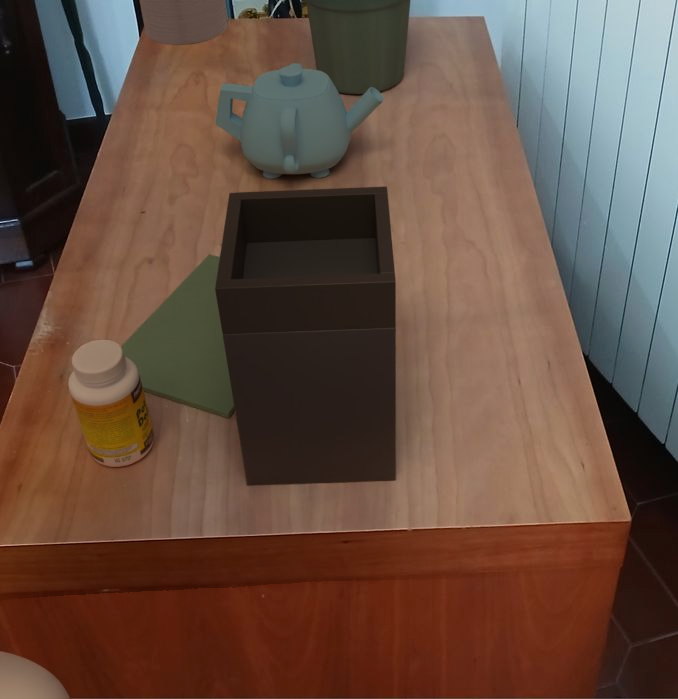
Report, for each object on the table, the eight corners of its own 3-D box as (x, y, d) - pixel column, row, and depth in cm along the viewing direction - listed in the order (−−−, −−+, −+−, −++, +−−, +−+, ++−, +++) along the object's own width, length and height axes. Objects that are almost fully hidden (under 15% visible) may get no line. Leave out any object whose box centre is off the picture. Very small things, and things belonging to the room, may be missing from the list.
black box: (395, 480, 74) (395, 281, 61) (247, 485, 74) (214, 288, 61) (388, 378, 83) (387, 186, 70) (255, 383, 83) (229, 192, 70)
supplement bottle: (158, 463, 76) (134, 372, 70) (90, 476, 76) (60, 385, 69) (153, 416, 81) (131, 327, 74) (89, 428, 80) (60, 339, 73)
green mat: (228, 418, 80) (228, 413, 80) (97, 376, 85) (96, 371, 84) (328, 288, 93) (327, 283, 93) (209, 258, 98) (209, 254, 98)
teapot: (212, 198, 107) (198, 104, 99) (229, 130, 120) (218, 41, 112) (384, 195, 106) (384, 100, 98) (383, 126, 119) (383, 37, 111)
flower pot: (284, 67, 133) (274, -48, 123) (385, 43, 138) (384, -69, 128) (331, 113, 122) (325, -9, 111) (439, 86, 127) (443, -34, 116)
